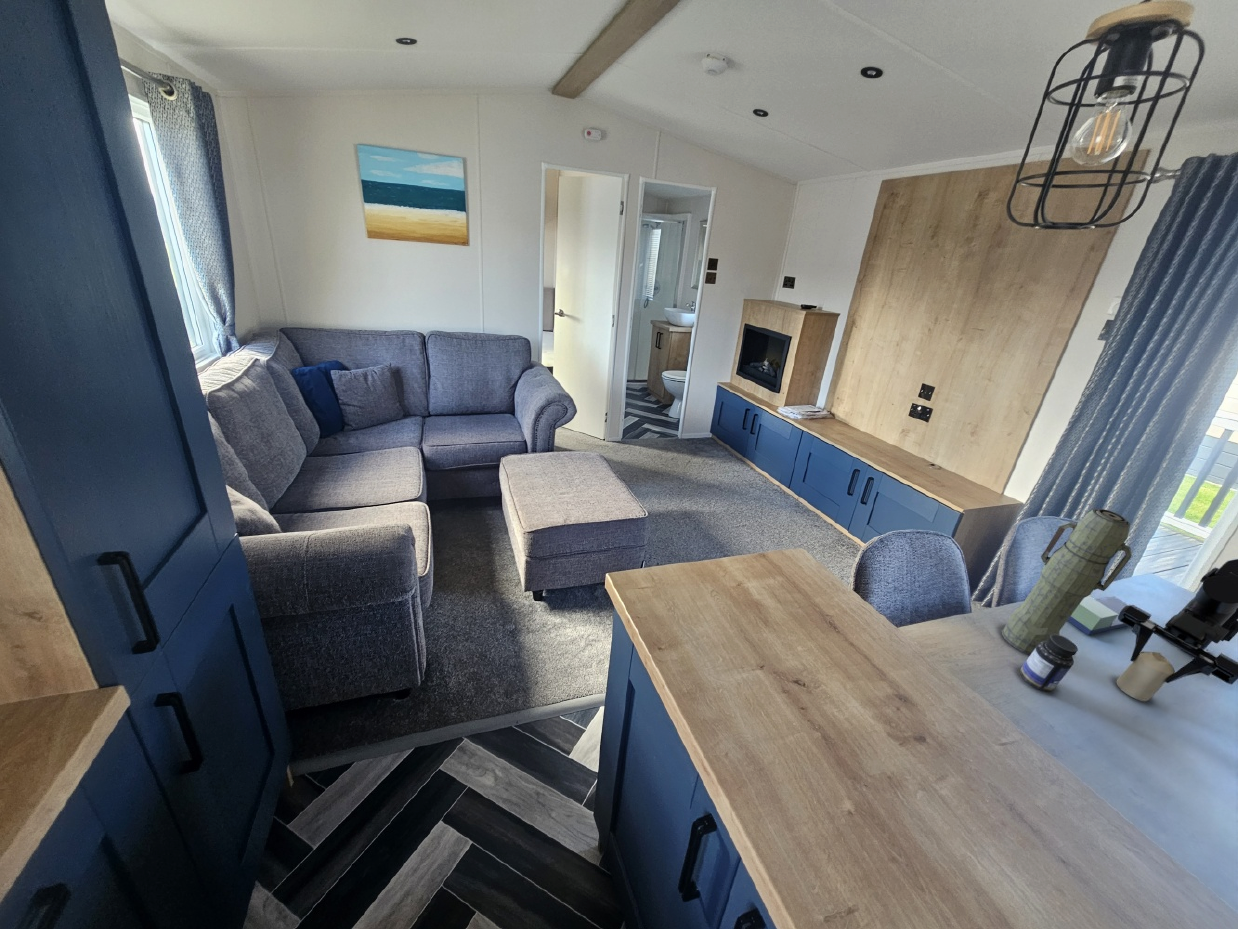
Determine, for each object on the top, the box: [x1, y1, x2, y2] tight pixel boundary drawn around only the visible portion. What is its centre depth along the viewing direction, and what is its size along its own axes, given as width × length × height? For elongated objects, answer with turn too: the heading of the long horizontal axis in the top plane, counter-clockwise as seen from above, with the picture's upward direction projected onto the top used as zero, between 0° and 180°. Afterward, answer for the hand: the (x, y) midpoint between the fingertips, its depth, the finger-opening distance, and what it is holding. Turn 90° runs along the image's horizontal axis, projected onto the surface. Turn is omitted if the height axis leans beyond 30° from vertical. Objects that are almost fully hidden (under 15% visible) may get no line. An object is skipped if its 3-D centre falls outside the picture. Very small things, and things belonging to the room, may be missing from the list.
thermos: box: [1001, 508, 1133, 656], centre depth 110 cm, size 9×12×35 cm
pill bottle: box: [1019, 634, 1079, 692], centre depth 105 cm, size 6×6×11 cm
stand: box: [1066, 595, 1128, 636], centre depth 130 cm, size 24×8×6 cm, turn 110°
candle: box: [1116, 651, 1176, 702], centre depth 107 cm, size 6×6×10 cm
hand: (1148, 671), depth 106 cm, fingers closed on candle, 5 cm apart
